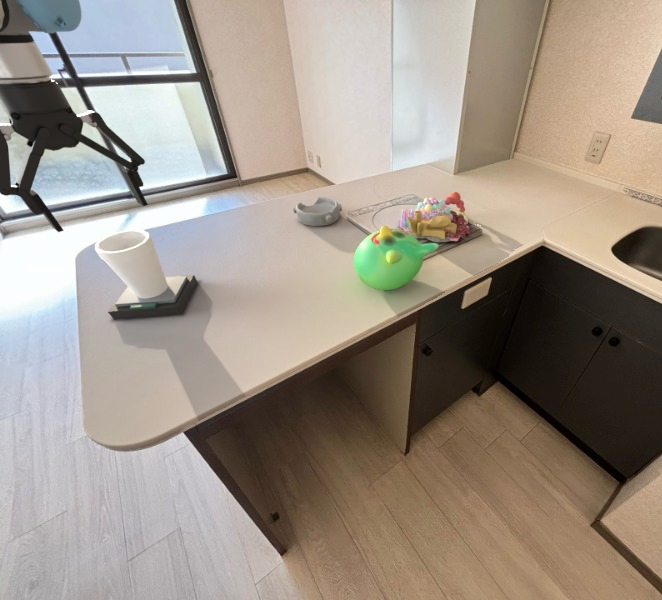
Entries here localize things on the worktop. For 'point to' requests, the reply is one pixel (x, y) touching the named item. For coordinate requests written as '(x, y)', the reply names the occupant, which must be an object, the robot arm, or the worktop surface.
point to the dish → (319, 212)
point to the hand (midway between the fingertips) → (103, 215)
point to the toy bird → (390, 258)
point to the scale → (156, 300)
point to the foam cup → (134, 261)
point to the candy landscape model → (437, 220)
